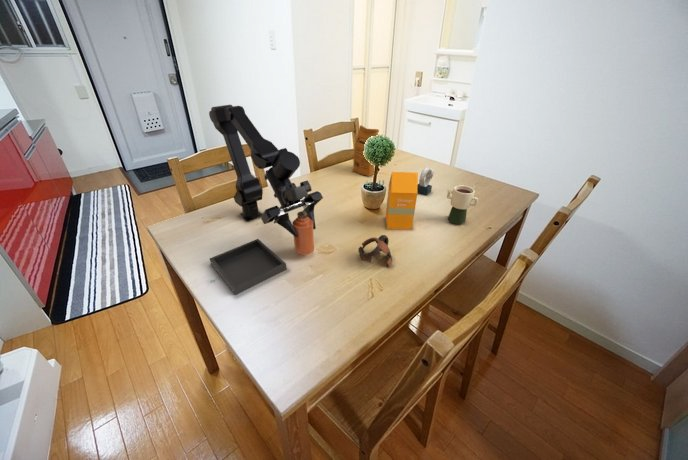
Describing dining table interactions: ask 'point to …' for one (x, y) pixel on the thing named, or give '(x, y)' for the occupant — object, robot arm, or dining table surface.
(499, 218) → the dining table surface
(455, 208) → the character mug
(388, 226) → the orange juice
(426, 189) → the stone sculpture
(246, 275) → the tray
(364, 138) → the coffee package
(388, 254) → the brown looped piece
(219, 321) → the dining table surface
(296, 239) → the bottle
